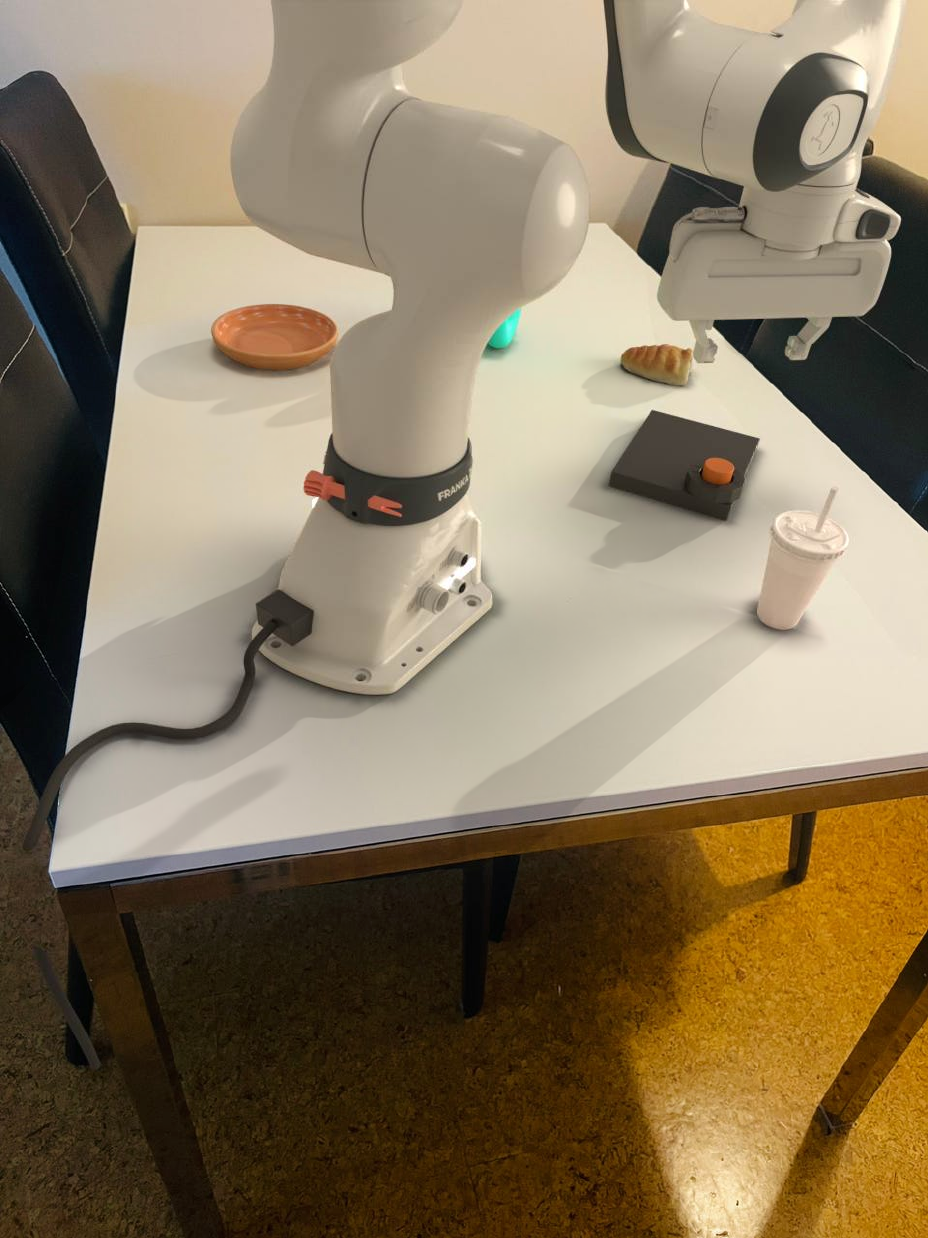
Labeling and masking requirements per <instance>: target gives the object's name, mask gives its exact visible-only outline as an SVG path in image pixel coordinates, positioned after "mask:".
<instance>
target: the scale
mask: <svg viewBox="0 0 928 1238" xmlns="http://www.w3.org/2000/svg"><path fill="white" fill-rule="evenodd" d="M760 440H761V438H760V437H756V436H752V435H748V434H744V433H741V432H738V431H734V430H730V429H726V428H722V427H720V426H714V425H712V424H707V423H704V422H699V421H696V420H693V419H688V418H685V417H680V416H678V415H674V414H670V413H666V412H662V411H659V410H655V409H651V411H649V413H648V415H647V417H646V418H645V420H643V422H642V424H641V426H640V427H639V429H638V430H637V432H636V433H635V435H634V436H633V438H632V439H631V441H630V442H629V444H628V446H627V447H626V449H625V450H624V452H623V453H622V455H621V456H620V457H619V459H618V461H617V462H616V464H615V465H614V466H613V468H612V470H611V471H610V477H609V482H608V487H611V488H614V489H618V490H621V491H625V492H627V493H631V494H635V495H638V496H642V497H645V498H647V499H648V498H649V499H651V500H655V501H658V502H662V503H664V504H665V503H666V504H668V505H672V506H675V507H679V508H683V509H685V510H688V511H692V512H696V513H699V514H702V515H705V516H709V517H713V518H715V519H719V520H722V521H728V519H729V517H730V515H731V512H732V510H733V507H734V505H735V503H736V501H739V499H740V498H741V495H742V493H743V491H744V487H745V485H746V484H745V483H746V482H747V479H746V477H747V474H748V471H749V469H750V466H751V465H752V462H753V460H754V457H755V455H756V452H757V450H758V446H759V444H760ZM710 458H721V459H725V460H727V461H729V462H731V463H732V464H733V466H734V471H733V474H732V477H731V480H730V483H729V484H726V485H724V484H714V483H710V482H708V481H706V480H705V479H703V478H702V472H703V468H704V464H705V461H706V460H708V459H710Z"/></svg>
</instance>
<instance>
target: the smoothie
mask: <svg viewBox="0 0 928 1238" xmlns="http://www.w3.org/2000/svg"><path fill="white" fill-rule="evenodd" d="M838 491H839V488H838V487H837V486H831V488H830V490H829V493H828V495H827V498H826V500H825V503H824V506H823V508H822V510H821V513H817V512H815V511H811V510H810V511H809V510H803V509H801V510H800V509H799V510H798V509H797V510H796V509H795V510H787V511H784V512H781V513H779V514H778V515H776V516H775V517H774V519H773V521H772V524H771V525H770V527H769V531H768V533H769V537H770V545H769V549H768V554H767V559H766V565H765V569H764V574H763V579H762V584H761V589H760V594H759V598H758V603H757V609H756V614H757V615H756V616H757V618H758V619H759V620H760V622H761V623H763V624H764V625H765V626H768V627H770V628H772V629H775V630H781V631H785V630H786V631H787V630H792V629H794V627H796V626H797V625H798V623H799V621H800V620H801V618H802V617H803V615H804V613H805V612H806V610H807V609H808V607H809V605H810V604H811V602H812V601H813V599H814V598H815V595H816V594H817V592H818V591H819V590H820V588H821V586H822V584H823V583H824V581H825V579H827V576H828V574H829V572H830V571H831V570H832V568H833V567H834V565H835V563H836V562H837V561H838V560H839V559H841V558H843V556H844V555H845V553H846V552H847V547H848V545H849V541H850V539H849V535H848V533H847V530H845V529H844V528H843V527H842V526H841V525H840V524H839V523H838V522H836V521H835V520H833V519H832V518H830V517H829V514H830V511H831V510H832V507H833V504H834V502H835V499H836V496H837V494H838Z"/></svg>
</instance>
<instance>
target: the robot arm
mask: <svg viewBox="0 0 928 1238" xmlns="http://www.w3.org/2000/svg"><path fill="white" fill-rule="evenodd" d="M463 2H464V0H270V6H271V14H272V22H273V23H272V24H273V50H272V58H271V67H270V70H269V73H268V77H267V79H266V81H265V83H264V85H263V86H262V87H261V89H260V90H259V91H257V92H256V93H255V94H254V95H253V96H252V97H251V99H249V101H248V103H247V104H246V105H245V106H244V109H243V111H242V112H241V114H240V116H239V118H238V120H237V123H236V125H235V128H234V132H233V134H232V140H231V144H230V145H231V146H230V158H229V159H230V160H229V161H230V162H229V163H230V173H231V179H232V185H233V189H234V192H235V196H236V198H237V200H238V203H239V205H240V207H241V210H242V212H243V213H244V215H245V216H246V217H247V219H248V220H249V222H251V223H252V224H253V225H254V226H255V227H257V228H258V229H260V230H262V231H264V232H265V233H267V234H269V235H271V236H273V237H275V238H277V239H278V240H280V241H281V242H284V243H285V244H287V245H290V246H292V247H294V248H296V249H298V250H300V251H302V252H304V253H305V254H307V255H310V256H314V257H317V258H322V259H325V260H329V261H333V262H336V263H340V264H343V265H348V266H353V267H356V268H359V269H363V270H368V271H372V272H375V273H379V274H383V275H385V276H387V277H390V281H391V283H392V289H393V297H392V306H391V309H389V310H386V311H382V312H380V313H377V314H374V315H371V316H369V317H366V318H364V319H362V320H360V321H359V322H356V323H355V324H353V325H352V326H351V327H350V328H348V329H347V330H346V331H345V332H344V334H343V335H342V336H341V337H340V339H339V340H338V341H337V343H336V345H335V348H334V350H333V352H332V355H331V358H330V362H329V377H330V380H329V381H330V400H331V401H330V402H331V403H330V405H331V407H330V408H331V430H332V432H331V434H330V435H329V438H328V442H327V448H326V451H325V454H324V457H323V461H322V464H323V470H322V473H321V472H320V471H317V470H310V471H309V472H308V473H307V474H306V475H305V478H304V481H303V492H304V493H303V494H305V495H307V496H308V497H309V496H310V497H313V499H312V500H311V502H312V503H311V504H312V509H311V511H310V513H309V514H308V517H307V518H306V521H305V522H304V524H303V527H302V529H301V531H300V533H299V534H298V537H297V539H296V541H295V543H294V545H293V547H292V549H291V551H290V554H289V555H288V558H287V559H286V561H285V563H284V566H283V568H282V570H281V573H280V577H279V582H278V583H279V584H278V586H277V589H276V590H275V591H273V592H271V593H270V594H268V595H267V596H264V598H262V599H260V600H258V601H257V602H256V603H255V610H256V618H257V620H256V621H255V623H254V625H253V626H252V629H251V641H250V642H249V644H248V646H247V648H246V650H245V652H244V655H243V660H242V661H243V663H242V664H243V669H244V676H243V679H242V681H241V685H240V688H239V691H238V694H237V696H236V698H235V700H234V702H233V704H232V705H231V707H230V708H229V709H228V710H227V712H225V713H224V714H223V715H221V716H220V717H218V718H217V719H216V720H214V721H212V722H210V723H207V724H204V725H202V726H198V727H193V728H179V727H178V728H177V727H170V726H164V725H158V724H153V723H148V722H147V723H146V722H121V723H116V724H111V725H109V726H107V727H105V728H102V729H100V730H98V731H97V732H94V733H92V734H90V735H89V736H88V737H86V738H85V739H83V740H81V741H80V742H79V743H77V744H76V745H74V747H72V748H71V749H70V750H69V751H68V752H67V753H66V754H65V755H64V756H63V757H62V759H61V760H60V761H59V763H58V764H57V765H56V767H55V768H54V769H53V772H52V774H51V775H50V777H49V779H48V782H47V784H46V786H45V789H44V790H43V793H42V795H41V798H40V801H39V803H38V805H37V808H36V810H35V813H34V814H33V818H32V819H31V822H30V826H29V827H28V830H27V833H26V835H25V837H24V841H23V844H22V850H23V851H25V852H28V851H29V852H30V851H32V850H33V849H34V848H35V847H37V845H38V843H39V840H40V837H41V835H42V832H43V830H44V827H45V824H46V822H47V819H48V818H49V817H48V816H49V814H50V812H51V809H52V806H53V805H54V801H55V799H56V797H57V794H58V792H59V789H60V788H61V785H62V783H63V781H64V779H65V778H66V776H67V774H68V772H69V771H70V769H71V768H72V767H73V765H74V764H75V763H76V762H77V761H78V760H79V759H80V758H81V757H82V756H83V755H84V754H85V753H87V752H88V751H89V750H91V749H93V748H94V747H96V746H97V745H99V744H101V743H102V742H105V741H107V740H108V739H111V738H113V737H116V736H120V735H126V734H128V735H129V734H138V735H145V736H152V737H159V738H165V739H169V740H170V739H171V740H180V741H184V740H185V741H188V740H198V739H203V738H206V737H208V736H211V735H213V734H216V733H218V732H219V731H221V730H223V729H225V728H226V727H228V726H229V725H231V724H232V723H233V722H234V721H235V720H236V719H237V718H238V717H239V715H240V714H241V712H242V710H243V709H244V707H245V705H246V703H247V700H248V698H249V696H250V693H251V689H252V686H253V684H254V679H255V677H256V666H255V665H256V664H255V658H256V655H257V653H258V651H259V652H260V653H261V654H262V655H263V656H264V657H265V658H267V659H268V660H269V661H271V662H272V663H274V664H275V665H277V666H278V667H280V668H282V669H284V670H286V671H288V672H289V673H291V674H293V675H296V676H299V677H301V678H303V679H305V680H308V681H310V682H313V683H316V684H318V685H321V686H323V687H327V688H331V689H335V690H337V691H341V692H342V691H343V692H347V693H352V694H358V695H359V694H360V695H373V696H374V695H375V696H376V695H390V694H394V693H396V692H397V691H399V690H400V689H401V688H402V687H404V686H405V685H406V684H407V683H408V682H409V681H411V680H412V679H413V678H414V677H415V676H416V675H417V674H418V673H419V672H421V671H422V670H423V669H424V668H426V667H427V666H428V665H429V664H430V663H431V662H433V660H434V659H435V658H436V657H438V656H439V655H440V654H441V653H442V652H443V651H445V649H447V648H448V647H449V646H451V644H452V643H453V642H454V641H456V640H457V639H458V638H460V636H461V635H462V634H464V633H465V632H466V631H467V630H468V629H470V628H471V627H472V626H473V625H474V624H475V623H476V622H477V621H478V620H480V619H481V618H482V617H483V616H484V615H485V614H487V612H488V611H490V610H491V609H492V608H493V593H492V591H491V590H490V589H489V587H488V586H487V585H486V584H485V583H484V582H483V581H482V579H481V577H482V575H481V571H482V570H481V568H482V566H481V565H482V523H481V521H480V518H479V515H478V514H477V513H476V510H475V509H474V506H473V504H472V501H471V500H470V496H469V493H468V491H469V489H470V485H471V477H472V472H473V462H474V461H473V459H474V458H473V446H472V441H471V439H470V437H469V428H470V421H471V420H470V419H471V411H472V402H473V395H474V389H475V383H476V375H477V372H478V367H479V365H480V361H481V358H482V355H483V353H484V351H485V349H486V347H487V345H488V344H489V343H488V341H489V340H490V338H491V336H492V335H493V334H494V332H495V331H496V330H497V328H498V327H499V326H500V325H501V324H502V323H503V322H504V321H505V320H506V319H507V318H508V317H509V316H511V315H512V314H513V313H514V312H516V311H517V310H518V309H520V308H521V309H522V308H524V307H525V306H526V305H529V304H530V303H532V302H534V301H536V300H538V299H540V298H542V297H544V296H545V295H547V294H549V292H551V291H552V290H553V289H555V288H556V287H557V286H558V285H559V284H560V283H561V282H562V281H563V279H565V277H566V276H567V275H568V274H569V272H570V271H571V269H572V268H573V267H574V265H575V264H576V262H577V261H578V258H579V256H580V254H581V252H582V250H583V247H584V245H585V242H586V239H587V234H588V230H589V225H590V218H591V196H590V195H591V194H590V188H589V183H588V179H587V176H586V172H585V169H584V167H583V165H582V162H581V160H580V158H579V156H578V154H577V152H576V150H575V149H574V148H573V147H572V145H570V144H569V143H567V142H565V141H563V140H561V139H558V138H556V137H555V136H552V135H550V134H548V133H547V132H544V131H542V130H540V129H538V128H536V127H533V126H531V125H530V124H527V123H524V122H522V121H520V120H518V119H514V118H512V117H510V116H507V115H502V114H497V113H490V112H486V111H480V110H475V109H470V108H465V107H459V106H455V105H449V104H444V103H438V102H433V101H428V100H424V99H421V98H419V97H416V96H413V95H411V93H410V91H409V89H408V88H407V86H406V84H405V81H404V77H403V71H402V70H403V69H402V65H403V64H404V63H406V62H408V61H410V60H412V59H413V58H415V57H417V56H418V55H420V54H422V53H423V52H424V51H426V50H428V49H429V48H430V47H431V46H433V45H434V44H435V43H436V42H437V41H439V40H440V39H441V38H442V37H443V36H444V35H445V34H446V33H447V31H448V30H449V29H450V27H451V26H452V25H453V24H454V22H455V20H456V19H457V16H458V14H459V12H460V11H461V9H462V6H463V4H464V3H463ZM603 10H604V21H605V30H606V42H607V64H606V65H607V67H606V77H605V92H604V93H605V96H604V98H605V99H604V101H605V111H606V112H605V113H606V117H607V121H608V124H609V127H610V130H611V133H612V135H613V138H614V139H615V141H616V143H617V145H618V146H619V147H620V148H621V150H622V151H624V153H626V154H628V155H629V156H632V157H635V158H639V159H645V160H651V161H656V162H661V163H666V164H673V165H676V166H678V167H682V168H684V169H688V170H690V171H694V172H697V173H699V174H703V175H705V176H709V177H712V178H714V179H718V180H723V181H726V182H730V183H733V184H736V185H738V186H743V189H742V194H741V197H740V201H739V205H738V206H726V207H714V208H710V207H709V206H700V207H696V208H693V209H692V211H691V212H689V213H687V214H686V213H685V215H683V216H682V217H680V218H679V219H678V220H677V221H676V222H675V223H674V225H673V228H672V232H671V235H670V241H669V246H668V247H669V249H668V250H669V254H668V256H667V259H666V261H665V265H664V267H663V271H662V273H661V276H660V281H659V285H658V288H657V293H656V297H657V298H656V299H657V303H658V304H659V307H661V310H662V311H663V312H664V313H665V314H666V315H667V316H668V317H669V319H671V321H675V322H676V321H678V322H681V321H683V322H684V321H686V322H687V321H689V324H690V327H691V330H692V333H693V335H694V339H695V342H694V343H695V344H694V347H693V350H692V351H693V359H694V360H695V362H696V363H697V364H713V363H714V362H715V360H716V357H715V356H716V354H717V352H718V348H719V346H718V345H717V343H715V341H714V340H713V339H712V338H708V335H707V332H706V331H711V330H712V329H713V327H714V326H713V325H714V323H715V321H717V320H719V321H720V320H721V321H725V320H758V319H761V320H762V319H763V320H766V319H799V318H802V319H803V318H804V319H805V318H806V319H807V320H808V321H807V322H806V323H805V325H804V326H803V327H802V328H801V330H799V332H798V334H797V335H789V336H788V339H787V342H786V343H787V345H786V346H785V348H784V355H785V357H786V358H788V359H789V360H790V361H804V360H807V358H808V355H809V354H810V353H809V352H810V349H811V347H812V344H814V343H815V342H816V341H817V340H818V339H819V338H820V337H821V336H822V335H823V334H824V333H825V332H826V331H827V330H828V329H829V328H830V325H831V322H832V319H833V318H838V317H839V318H841V317H862V316H865V314H867V313H868V312H869V311H870V310H871V309H872V308H873V307H874V306H875V305H876V304H877V302H878V300H879V297H880V294H881V291H882V289H883V286H884V283H885V280H886V277H887V273H888V270H889V267H890V263H891V258H892V247H891V245H890V242H889V241H890V240H892V239H893V238H894V237H895V236H896V235H897V233H898V231H899V228H900V226H901V221H902V218H901V216H900V215H899V214H898V213H897V212H896V211H895V210H893V208H891V207H890V206H888V205H887V204H885V203H884V202H882V201H881V200H879V199H878V198H876V197H874V196H872V195H870V194H869V193H867V192H865V191H863V190H861V189H859V188H857V186H858V183H859V180H860V177H861V172H862V161H863V160H862V159H863V153H864V149H865V145H866V143H867V142H868V139H869V137H870V135H871V133H872V132H873V130H874V128H875V127H876V126H877V123H878V121H880V116H881V114H882V111H883V107H884V104H885V101H886V98H887V95H888V92H889V88H890V85H891V81H892V78H893V75H894V70H895V67H896V63H897V59H898V55H899V50H900V47H901V41H902V36H903V32H904V31H903V30H904V27H905V18H906V11H907V0H796V2H795V5H794V7H793V9H792V13H791V15H790V17H789V18H787V20H786V21H784V22H782V24H780V25H779V26H776V27H774V28H773V29H771V30H770V33H768V32H767V33H766V32H758V31H754V30H749V29H745V28H740V27H736V26H731V25H727V24H722V23H718V22H714V21H712V20H710V19H708V18H707V17H705V16H703V15H702V14H701V13H699V12H698V11H697V10H696V9H694V8H693V6H692V5H691V4H690V3H689V1H688V0H603ZM771 33H772V34H771ZM690 219H691V220H690ZM31 947H32V950H33V954H34V957H35V960H36V962H37V966H38V968H39V970H40V973H41V975H42V977H43V980H44V982H45V984H46V986H47V989H48V991H49V992H50V994H51V996H52V998H53V1000H54V1001H55V1003H56V1005H57V1007H58V1008H59V1010H60V1012H61V1014H62V1015H63V1017H64V1019H65V1021H66V1022H67V1024H68V1026H69V1027H70V1029H71V1031H72V1032H73V1034H74V1036H75V1038H76V1040H77V1043H79V1046H80V1047H81V1049H82V1051H83V1054H84V1056H85V1057H86V1059H87V1061H88V1064H89V1066H90V1069H91V1071H98V1070H99V1068H101V1065H102V1063H101V1061H100V1059H99V1057H98V1054H97V1051H96V1049H95V1047H94V1045H93V1043H92V1041H91V1039H90V1037H89V1034H88V1033H87V1031H86V1029H85V1028H84V1025H83V1024H82V1022H81V1020H80V1018H79V1017H78V1015H77V1013H76V1011H75V1009H74V1008H73V1006H72V1005H71V1002H70V1001H69V999H68V997H67V996H66V993H65V992H64V989H63V987H62V986H61V983H60V982H59V979H58V978H57V974H56V973H55V970H54V969H53V965H52V963H51V959H50V956H49V954H48V951H47V950H44V949H43V948H41V947H39V946H37V945H35V944H34V943H31Z"/></svg>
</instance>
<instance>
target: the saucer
mask: <svg viewBox="0 0 928 1238" xmlns="http://www.w3.org/2000/svg"><path fill="white" fill-rule="evenodd" d="M210 333H211V337H212V340H213V343H214V344H215V346H216V347H217V348H218V349H219V350H220V351H222V352H223V353H224V354H225V355H226V356H228V357H230V358H231V359H233V360H234V361H235V362H237V363H238V364H241V365H244V366H246V367H248V368H249V367H250V368H253V369H258V370H259V369H260V370H266V371H284V370H286V371H287V370H294V369H299V368H304V367H306V366H309V365H311V364H314V363H316V362H317V361H319V360H320V359H322V358H323V356H325V355H326V354H327V353H329V352H330V351H331V349H332V348H334V346H336V344H337V342H338V336H339V329H338V326H337V324H336V322H335V321H334V320H333V319H332V318H331V317H330V316H328V315H326V314H325V313H323V312H320V311H318V310H315V309H313V308H309V307H304V306H301V305H296V304H295V305H294V304H285V303H262V304H253V305H245V306H241V307H238V308H235V309H234V308H233V309H231V310H229V311H226V312H224V313H223V314H221V315H219V317H217V318H216V319H215V320H214V321H213V323H212V325H211V328H210Z"/></svg>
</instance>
